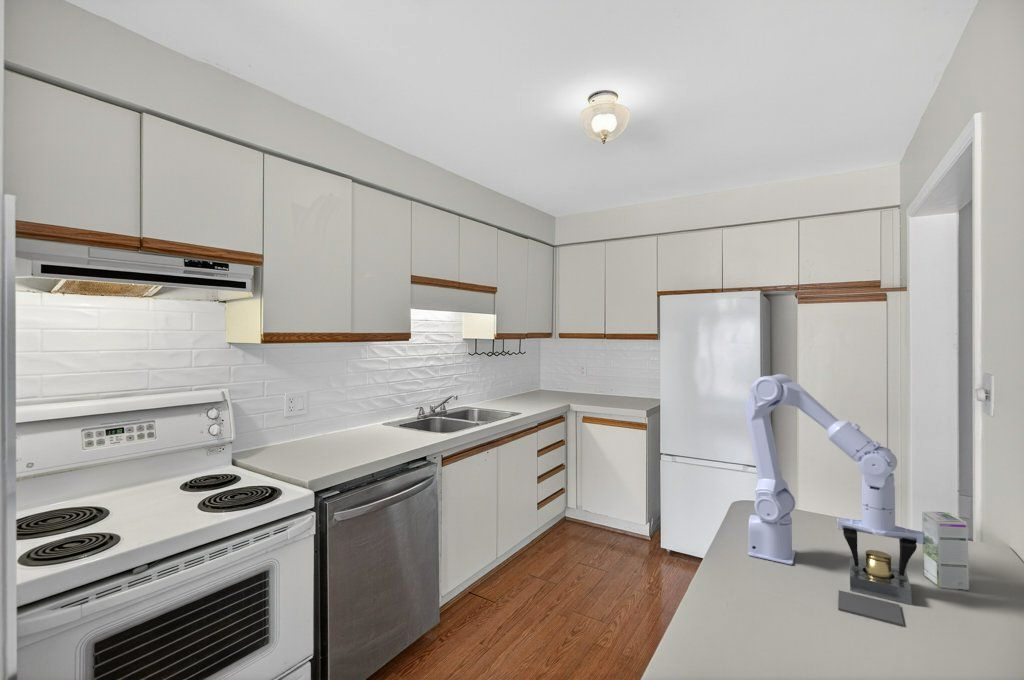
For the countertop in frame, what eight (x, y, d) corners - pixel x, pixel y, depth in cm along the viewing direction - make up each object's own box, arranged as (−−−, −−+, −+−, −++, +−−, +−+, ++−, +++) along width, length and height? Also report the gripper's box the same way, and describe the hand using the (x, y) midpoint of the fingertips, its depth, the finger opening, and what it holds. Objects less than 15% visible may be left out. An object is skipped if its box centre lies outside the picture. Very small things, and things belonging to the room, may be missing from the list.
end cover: (866, 588, 103) (865, 555, 103) (865, 580, 107) (865, 548, 107) (892, 594, 101) (892, 561, 101) (890, 585, 105) (890, 553, 104)
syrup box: (970, 590, 102) (970, 521, 102) (937, 588, 103) (937, 520, 103) (951, 577, 108) (951, 512, 108) (921, 575, 109) (920, 510, 109)
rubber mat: (838, 609, 95) (838, 607, 95) (838, 592, 102) (838, 590, 102) (903, 626, 90) (903, 624, 90) (899, 606, 96) (899, 604, 96)
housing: (850, 590, 103) (850, 576, 103) (849, 571, 111) (849, 558, 111) (911, 604, 97) (911, 589, 97) (906, 583, 105) (905, 569, 105)
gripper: (836, 504, 105) (837, 567, 105) (925, 517, 96) (925, 586, 96) (837, 495, 110) (837, 555, 110) (920, 507, 102) (920, 572, 102)
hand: (878, 569), depth 104 cm, fingers open, 7 cm apart
